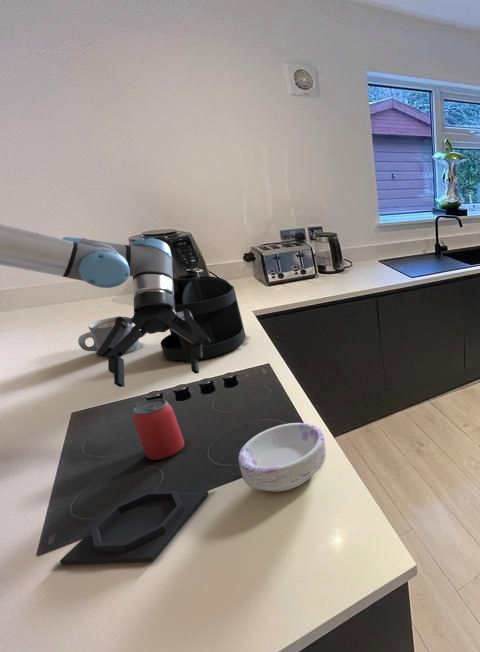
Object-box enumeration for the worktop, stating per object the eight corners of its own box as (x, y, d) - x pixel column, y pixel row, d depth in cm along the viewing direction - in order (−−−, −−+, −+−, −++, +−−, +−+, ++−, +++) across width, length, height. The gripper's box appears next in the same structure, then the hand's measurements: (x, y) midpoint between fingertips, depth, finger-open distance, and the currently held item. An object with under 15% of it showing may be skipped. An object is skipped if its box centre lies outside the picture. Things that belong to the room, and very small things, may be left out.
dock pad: (61, 565, 64) (55, 554, 63) (133, 496, 77) (128, 486, 76) (153, 561, 65) (148, 551, 64) (208, 494, 78) (205, 484, 77)
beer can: (154, 465, 84) (135, 418, 80) (142, 453, 88) (124, 407, 83) (190, 448, 90) (175, 403, 85) (178, 437, 93) (162, 394, 88)
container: (255, 348, 136) (238, 277, 127) (170, 370, 121) (144, 292, 112) (238, 329, 151) (222, 264, 141) (160, 346, 136) (136, 275, 126)
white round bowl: (343, 456, 89) (338, 427, 86) (294, 510, 75) (286, 478, 72) (285, 444, 92) (278, 416, 89) (227, 494, 78) (217, 462, 75)
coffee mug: (137, 340, 139) (127, 314, 135) (143, 349, 133) (133, 322, 129) (82, 353, 130) (71, 325, 126) (86, 363, 124) (74, 334, 120)
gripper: (219, 297, 106) (227, 371, 100) (93, 311, 95) (93, 395, 89) (212, 283, 100) (220, 361, 94) (76, 296, 89) (74, 386, 82)
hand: (158, 378), depth 91 cm, fingers open, 13 cm apart
